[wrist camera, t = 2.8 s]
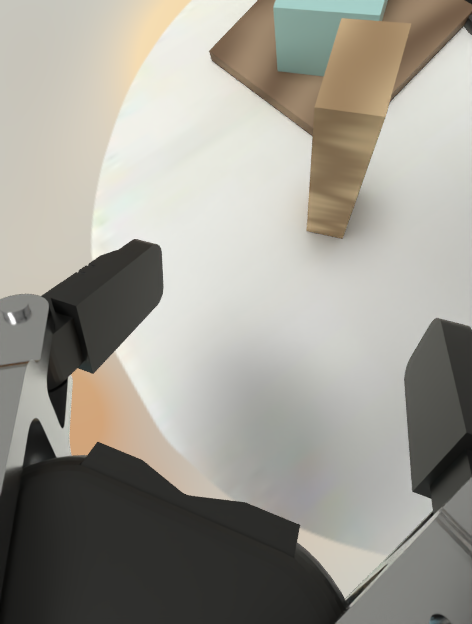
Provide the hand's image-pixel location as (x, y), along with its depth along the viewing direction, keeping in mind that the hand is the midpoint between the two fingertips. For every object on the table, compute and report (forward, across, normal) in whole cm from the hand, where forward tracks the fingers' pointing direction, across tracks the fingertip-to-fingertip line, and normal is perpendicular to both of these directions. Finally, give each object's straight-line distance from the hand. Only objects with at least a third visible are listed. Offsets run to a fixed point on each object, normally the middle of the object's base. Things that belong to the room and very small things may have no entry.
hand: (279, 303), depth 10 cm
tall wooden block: (+21, 0, +4) cm, 21 cm away
